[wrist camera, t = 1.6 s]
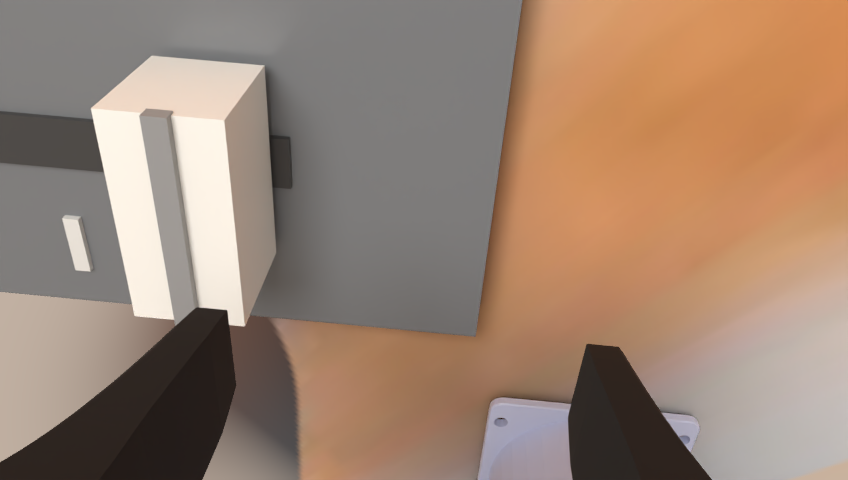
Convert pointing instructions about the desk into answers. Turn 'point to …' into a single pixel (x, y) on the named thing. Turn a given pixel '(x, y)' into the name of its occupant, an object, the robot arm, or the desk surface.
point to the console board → (277, 146)
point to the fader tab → (190, 184)
